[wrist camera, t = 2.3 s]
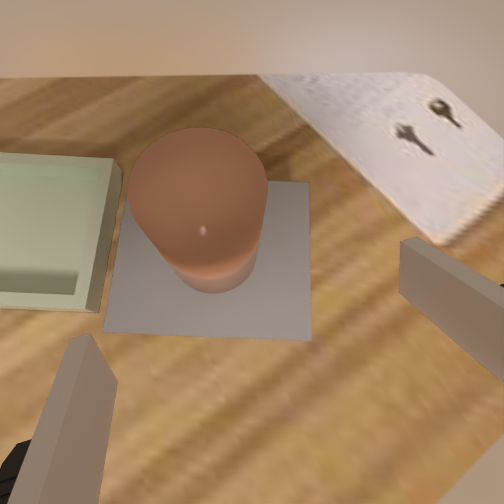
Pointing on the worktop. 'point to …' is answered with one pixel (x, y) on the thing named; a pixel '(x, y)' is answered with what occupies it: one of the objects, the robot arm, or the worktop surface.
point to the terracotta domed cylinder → (201, 205)
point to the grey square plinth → (227, 303)
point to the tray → (56, 230)
